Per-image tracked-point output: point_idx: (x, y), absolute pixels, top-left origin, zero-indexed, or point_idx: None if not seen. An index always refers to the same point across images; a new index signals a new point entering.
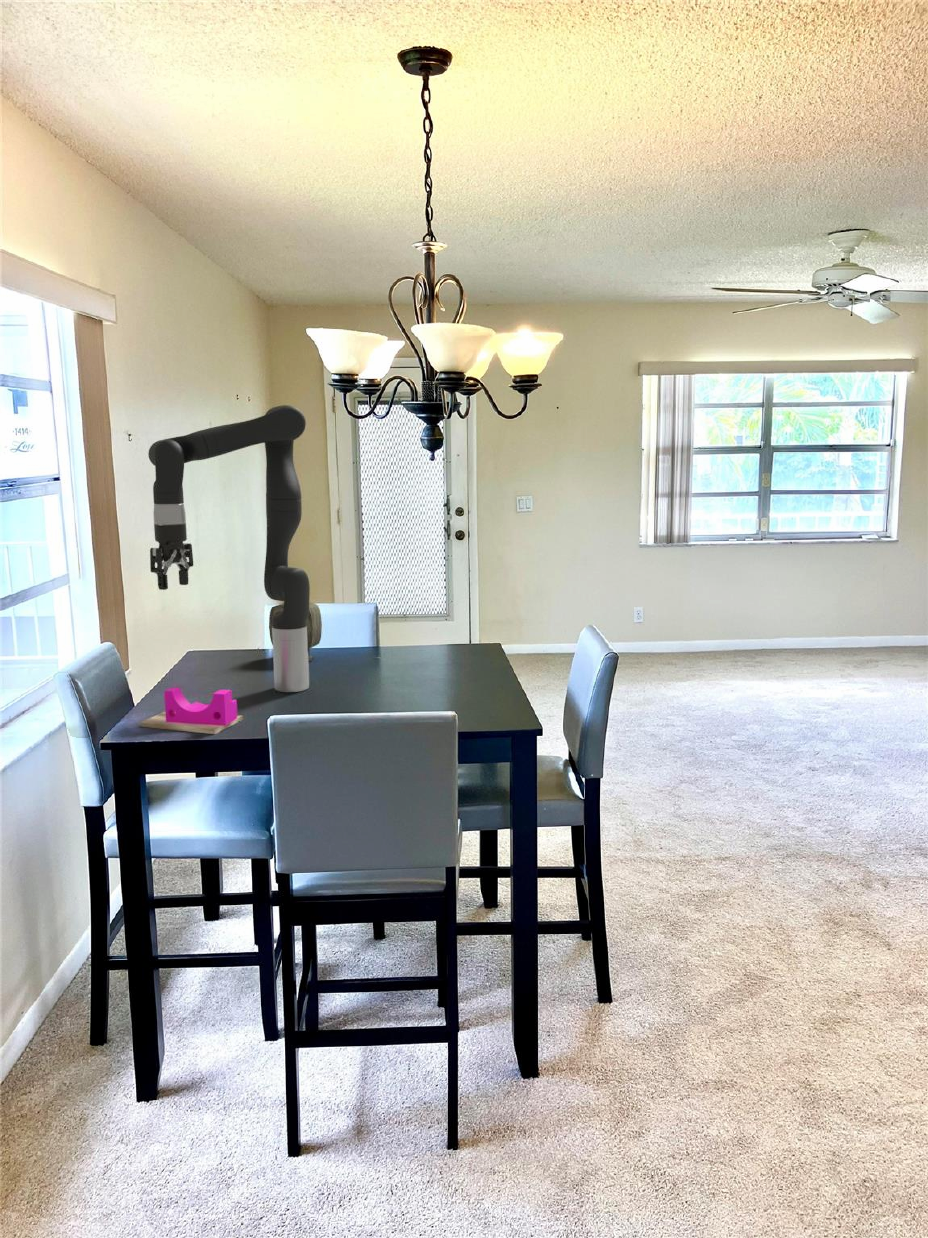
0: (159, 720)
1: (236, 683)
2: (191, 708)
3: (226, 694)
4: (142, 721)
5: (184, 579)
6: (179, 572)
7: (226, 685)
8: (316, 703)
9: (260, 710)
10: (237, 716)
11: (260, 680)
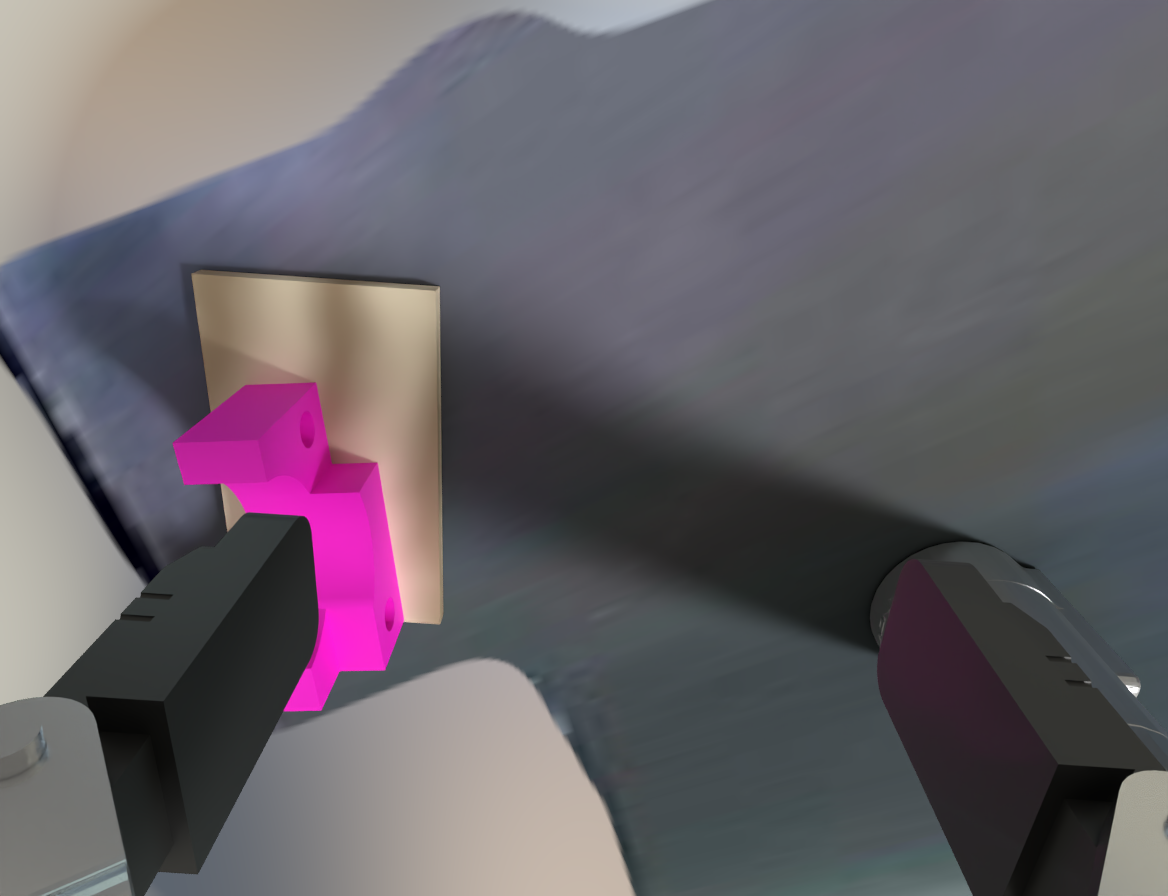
0: (251, 344)
1: (1047, 318)
2: (278, 509)
3: None
4: (205, 277)
5: (917, 716)
6: (1019, 737)
7: (999, 286)
8: (723, 759)
9: (583, 620)
10: (422, 611)
11: (1115, 411)
